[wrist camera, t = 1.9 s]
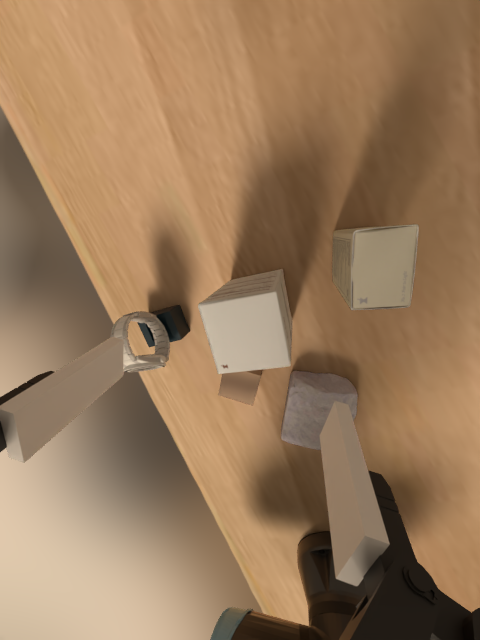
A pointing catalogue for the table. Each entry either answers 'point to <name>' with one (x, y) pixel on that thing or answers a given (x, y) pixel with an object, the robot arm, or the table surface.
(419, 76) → the table surface
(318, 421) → the stone block
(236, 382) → the walnut cube
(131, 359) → the watch
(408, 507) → the table surface
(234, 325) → the supplement box
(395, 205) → the table surface
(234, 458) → the table surface
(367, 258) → the skincare box
